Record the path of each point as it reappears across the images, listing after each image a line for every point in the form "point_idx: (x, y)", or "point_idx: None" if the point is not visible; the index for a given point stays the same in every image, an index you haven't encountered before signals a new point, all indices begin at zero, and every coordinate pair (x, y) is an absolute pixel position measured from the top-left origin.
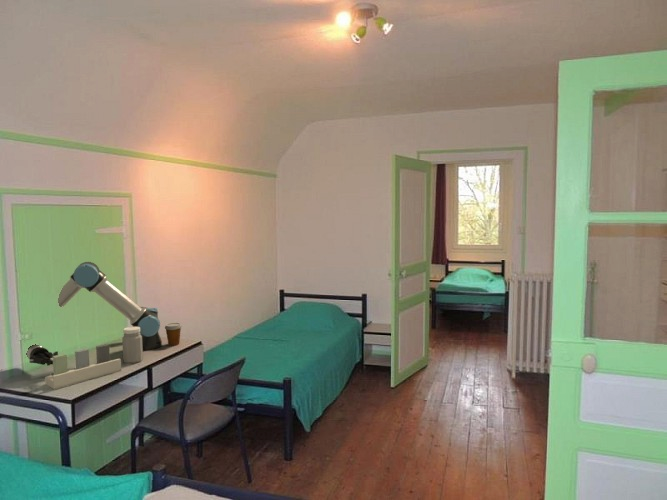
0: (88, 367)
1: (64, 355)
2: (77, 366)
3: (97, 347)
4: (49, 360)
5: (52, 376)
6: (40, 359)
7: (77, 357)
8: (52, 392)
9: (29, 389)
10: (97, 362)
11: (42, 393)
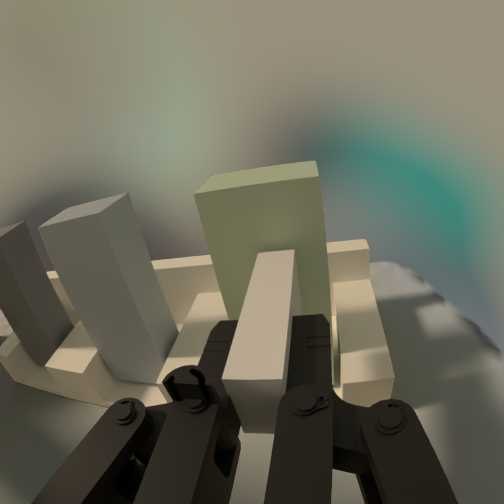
0: (165, 259)
1: (232, 172)
2: (158, 315)
3: (13, 234)
4: (312, 361)
5: (345, 349)
6: (437, 462)
7: (137, 242)
8: (383, 284)
9: (484, 381)
10: (51, 331)
11: (423, 295)
